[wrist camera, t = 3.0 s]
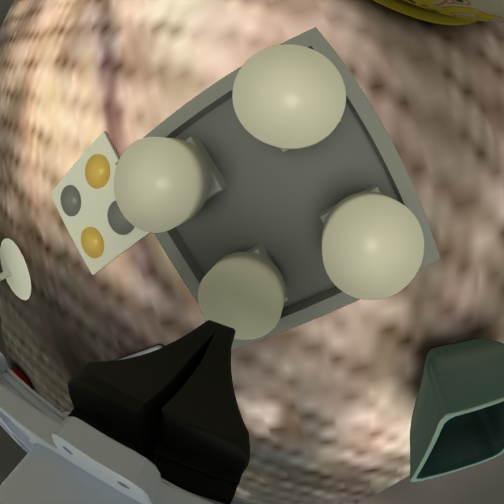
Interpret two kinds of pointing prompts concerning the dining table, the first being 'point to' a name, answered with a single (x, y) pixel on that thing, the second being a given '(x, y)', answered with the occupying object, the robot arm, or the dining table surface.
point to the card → (95, 206)
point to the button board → (282, 192)
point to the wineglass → (15, 269)
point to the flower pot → (458, 409)
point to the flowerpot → (449, 10)
